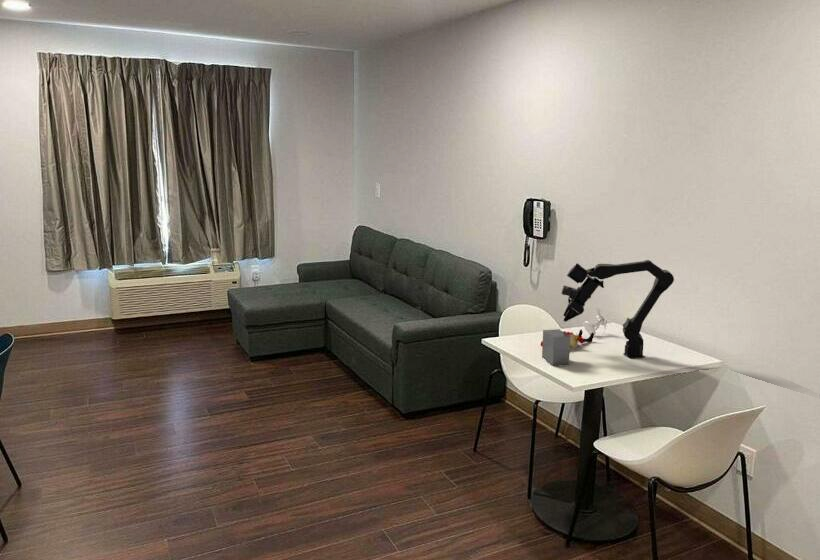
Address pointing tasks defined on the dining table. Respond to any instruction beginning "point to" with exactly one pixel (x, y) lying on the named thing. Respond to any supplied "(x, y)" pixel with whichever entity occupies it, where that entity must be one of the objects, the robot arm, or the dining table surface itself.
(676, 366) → the dining table surface
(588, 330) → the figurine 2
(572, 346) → the gold cylindrical piece
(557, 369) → the dining table surface
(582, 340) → the figurine
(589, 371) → the dining table surface
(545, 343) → the housing
